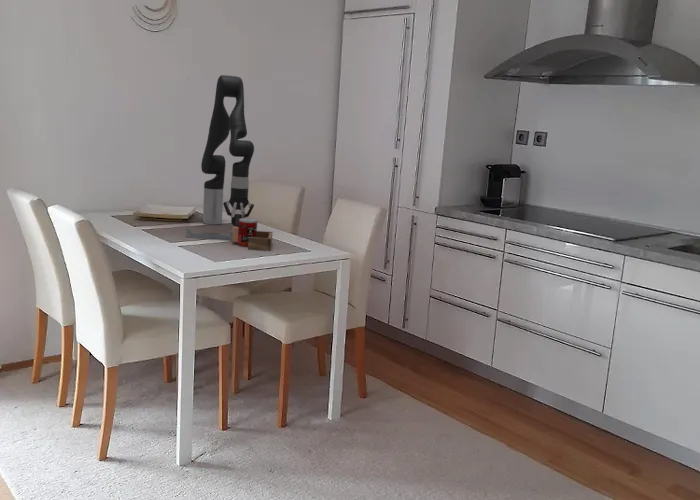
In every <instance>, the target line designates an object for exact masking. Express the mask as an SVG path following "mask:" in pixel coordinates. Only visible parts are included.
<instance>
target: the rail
mask: <svg viewBox="0 0 700 500" xmlns="http://www.w3.org/2000/svg"><path fill="white" fill-rule="evenodd" d="M185 237H186V238H194V239H206V240H207V239H211V240H225V241H228V240H229V241H231V240H230V233H220V232H219V233H217V232H205V231H204V232H203V231H202V232H201V231H192V227H187V228H186V234H185Z"/></svg>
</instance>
